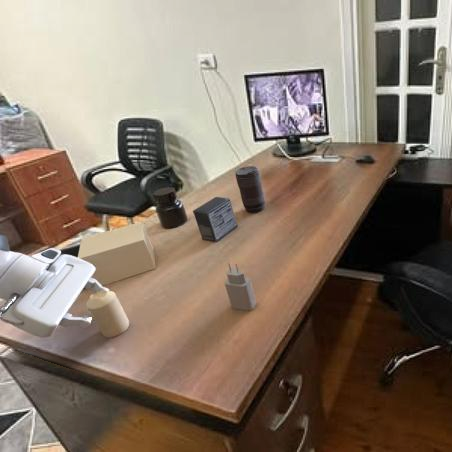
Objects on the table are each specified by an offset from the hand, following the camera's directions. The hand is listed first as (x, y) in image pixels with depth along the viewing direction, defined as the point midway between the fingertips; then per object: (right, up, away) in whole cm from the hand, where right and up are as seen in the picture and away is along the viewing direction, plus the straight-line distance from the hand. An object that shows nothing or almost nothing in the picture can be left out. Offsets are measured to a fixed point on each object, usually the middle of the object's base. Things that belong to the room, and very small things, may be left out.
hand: (99, 308), depth 75 cm
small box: (+13, +15, +39) cm, 44 cm away
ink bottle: (-6, +19, +49) cm, 52 cm away
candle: (+1, -6, +4) cm, 7 cm away
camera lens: (+22, +24, +52) cm, 61 cm away
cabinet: (-10, +6, +26) cm, 28 cm away
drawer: (-20, +3, +21) cm, 29 cm away
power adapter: (+29, -1, +7) cm, 30 cm away
